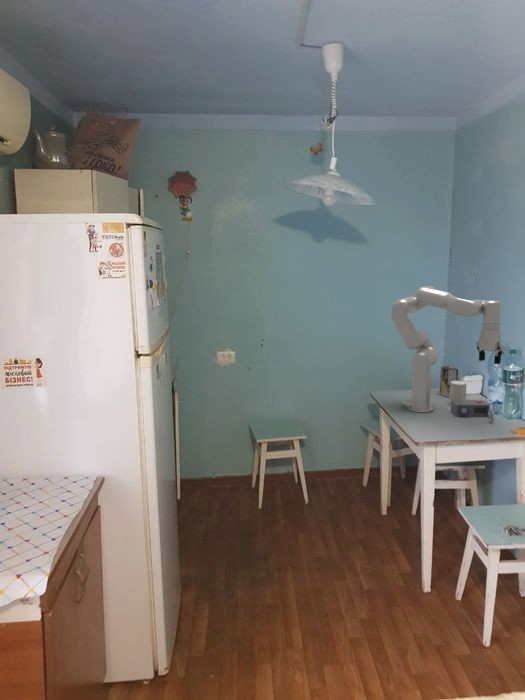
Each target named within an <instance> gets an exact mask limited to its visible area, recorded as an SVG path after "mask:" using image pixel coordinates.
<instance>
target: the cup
mask: <svg viewBox="0 0 525 700" xmlns="http://www.w3.org/2000/svg"><path fill="white" fill-rule="evenodd" d="M466 397H467V382H466V381H462V380H458V381H451V383H450V397H449V405H450V406H451V400H467V399H466Z"/></svg>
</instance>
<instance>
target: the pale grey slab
mask: <svg viewBox="0 0 525 700" xmlns="http://www.w3.org/2000/svg"><path fill="white" fill-rule="evenodd" d="M492 419H494V413H493V404H492V403H491V404H489V423H492Z"/></svg>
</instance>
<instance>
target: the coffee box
mask: <svg viewBox="0 0 525 700" xmlns="http://www.w3.org/2000/svg"><path fill="white" fill-rule="evenodd" d="M439 373H440V378H439V394H441V396H443V397H446V398H450V383H451V381H459V377H458V376H459V369H458V368H455V367H453V366H450V365H449V366H440V372H439Z"/></svg>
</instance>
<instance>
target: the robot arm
mask: <svg viewBox="0 0 525 700" xmlns="http://www.w3.org/2000/svg"><path fill="white" fill-rule="evenodd" d="M426 306H431V307H433V308H434V307H435V308H438V309H442V310H444V311H448V312H450V313H453V314H456V315H460V316H465V317H472V318H473V317H476V316H479V315H482V323H481V326H482V328H481V329H480V332H479V333H480V334H479V335H478V336H479V338H478V341H476V342H475V346H476V349H477V353H478V361H479V362H481V361H485V360H486V352H485V351H487V352H493V353H494V354H495V355H494V359H493V360H494V363H493V364H494V365H500V364H501V360H502V359H501V358H502V356H503V355H504V353H505V351H506V346H504V345H503V343H502V334H501V333H502V332H501V329H500V328H501V326H500V325H501V324H500V323H501V306H502V304H501V301H499V300H492V299H491V300H484V299H472V300H468V299H463V298H459V297H457V296H454V295H452V293H451V292H450V291H445V290H440V289H436V288H435V287H434V286H431V285H425V286H421V287H419V288H418V289H417V290H416V291H415V294H412V295H411V296H409V297H403V298H399V299H397V300H396V301H395V302H394V303H393V305H392V306H391V309H390V317H391V320H392V322H393V325H394V327H396V329H397V331H398V334H399V336H400V337H401V339H402V341H403V344H404V346H405V347H406V348H407V349H408V350H411V351H414V350H415V351H416V352H415V353H413V355H412V357H411V371H412V374H411V377H412V378H411V398H410V399H409V400H407V401H405V400H404V401H402V400H401V405H402V406H406V407H407V409H408V410H409V411H412V412H415V413H431V412H433V411H434V408H433V406H432V405H431V394H432V393H431V391H432V370H431V367H432V366H433V365H435V364H436V363H437V362H438V359H439V354H438V351H437V349H436V348H435V346H434V344H433V342H432V340H431V338H430V336H429V335H428V333H427V332H426V331H424V330H422V329H417V328H416V326H415V325H414V322H413V321H412V319H410V317H409V316H408V315H410V314H413V313H415V312H418V311H419V310H421V309H422V308H424V307H426Z"/></svg>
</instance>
